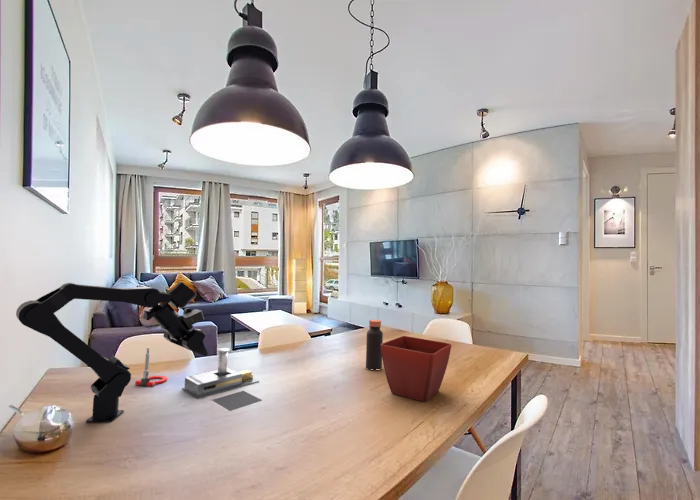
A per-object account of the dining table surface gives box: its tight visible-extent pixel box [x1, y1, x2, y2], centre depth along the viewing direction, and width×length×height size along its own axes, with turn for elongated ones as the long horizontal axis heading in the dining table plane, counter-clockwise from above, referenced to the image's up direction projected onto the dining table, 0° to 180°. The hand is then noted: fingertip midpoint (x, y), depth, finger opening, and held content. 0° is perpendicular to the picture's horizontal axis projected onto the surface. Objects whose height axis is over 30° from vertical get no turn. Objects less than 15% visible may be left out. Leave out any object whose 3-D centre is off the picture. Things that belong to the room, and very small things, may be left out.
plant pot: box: [381, 335, 452, 403], centre depth 120 cm, size 19×19×17 cm
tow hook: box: [134, 347, 168, 388], centre depth 123 cm, size 8×13×9 cm
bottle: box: [365, 319, 384, 371], centre depth 146 cm, size 7×7×20 cm
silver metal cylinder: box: [216, 347, 230, 377], centre depth 120 cm, size 4×4×12 cm
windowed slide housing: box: [181, 367, 260, 400], centre depth 120 cm, size 22×12×4 cm, turn 138°
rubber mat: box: [212, 390, 263, 412], centre depth 108 cm, size 11×11×1 cm
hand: (199, 352), depth 114 cm, fingers open, 9 cm apart
